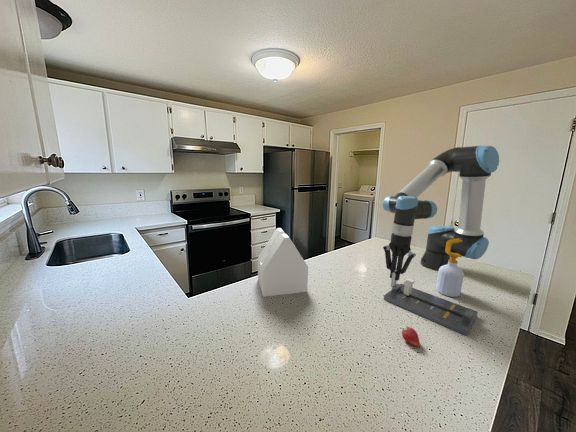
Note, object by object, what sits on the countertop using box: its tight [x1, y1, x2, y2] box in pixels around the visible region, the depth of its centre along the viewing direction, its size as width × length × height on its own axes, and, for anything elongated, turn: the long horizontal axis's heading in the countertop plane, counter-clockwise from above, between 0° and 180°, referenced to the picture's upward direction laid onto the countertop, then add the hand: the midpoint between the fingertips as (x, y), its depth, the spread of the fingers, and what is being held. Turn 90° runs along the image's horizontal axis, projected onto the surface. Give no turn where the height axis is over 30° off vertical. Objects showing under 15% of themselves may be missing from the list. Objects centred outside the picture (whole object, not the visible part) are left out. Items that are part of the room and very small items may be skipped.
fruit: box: [401, 324, 421, 348], centre depth 73 cm, size 4×6×5 cm
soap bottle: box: [435, 238, 465, 298], centre depth 102 cm, size 9×9×25 cm
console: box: [383, 283, 479, 336], centre depth 92 cm, size 16×28×4 cm, turn 42°
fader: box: [403, 278, 415, 296], centre depth 97 cm, size 5×2×5 cm, turn 132°
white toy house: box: [257, 227, 309, 298], centre depth 104 cm, size 19×15×25 cm
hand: (393, 285), depth 102 cm, fingers closed
